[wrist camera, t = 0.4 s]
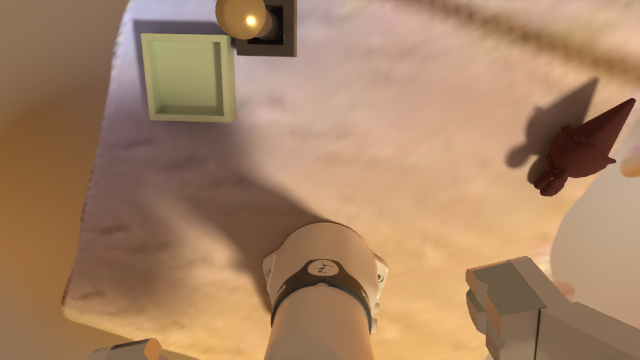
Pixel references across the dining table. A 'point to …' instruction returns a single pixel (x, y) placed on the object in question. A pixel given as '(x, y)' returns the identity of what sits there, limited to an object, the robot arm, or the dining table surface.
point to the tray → (189, 77)
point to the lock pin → (247, 19)
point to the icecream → (583, 149)
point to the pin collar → (289, 47)
